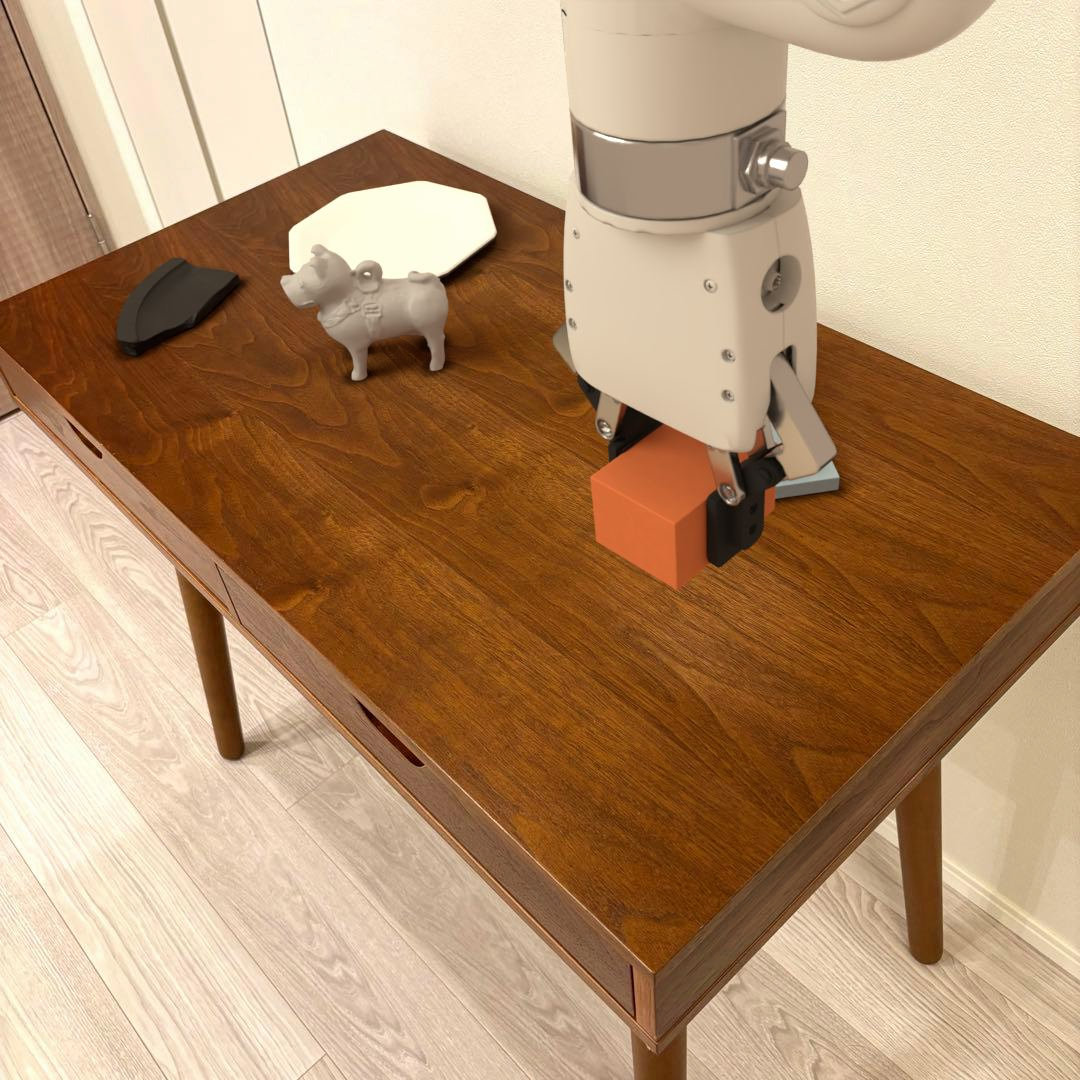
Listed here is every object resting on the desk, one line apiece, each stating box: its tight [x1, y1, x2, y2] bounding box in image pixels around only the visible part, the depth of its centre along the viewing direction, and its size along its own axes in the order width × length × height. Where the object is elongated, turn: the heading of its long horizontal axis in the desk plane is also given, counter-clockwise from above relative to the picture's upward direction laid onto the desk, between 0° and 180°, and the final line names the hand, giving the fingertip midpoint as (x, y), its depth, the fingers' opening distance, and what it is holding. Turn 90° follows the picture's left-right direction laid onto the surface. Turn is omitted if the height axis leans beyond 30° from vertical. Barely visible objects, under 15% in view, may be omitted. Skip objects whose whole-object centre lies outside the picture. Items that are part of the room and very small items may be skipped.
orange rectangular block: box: [590, 424, 778, 591], centre depth 52 cm, size 5×7×4 cm
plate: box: [288, 180, 498, 280], centre depth 110 cm, size 20×20×2 cm
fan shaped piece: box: [116, 257, 241, 357], centre depth 105 cm, size 8×14×2 cm, turn 156°
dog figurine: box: [280, 244, 449, 381], centre depth 93 cm, size 5×13×11 cm, turn 96°
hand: (685, 518), depth 53 cm, fingers closed on orange rectangular block, 5 cm apart
